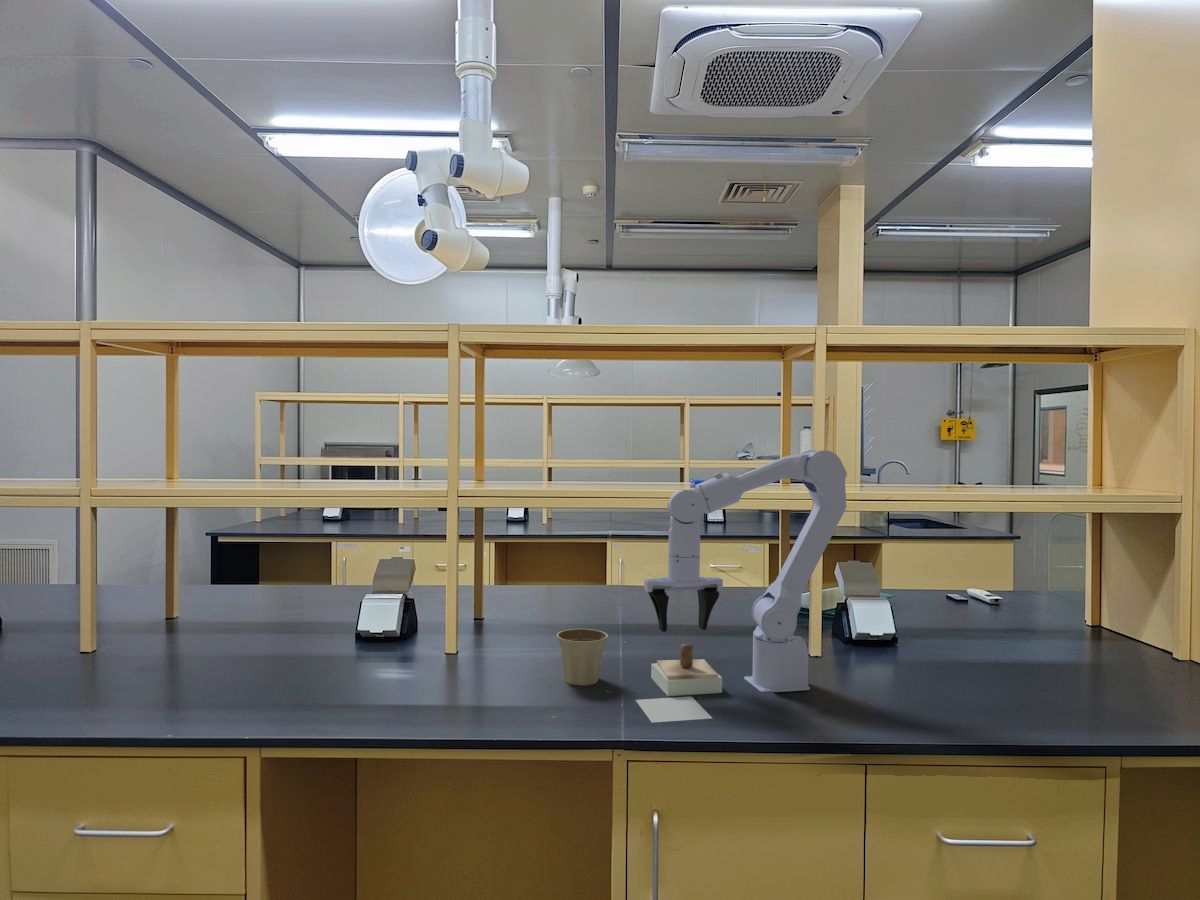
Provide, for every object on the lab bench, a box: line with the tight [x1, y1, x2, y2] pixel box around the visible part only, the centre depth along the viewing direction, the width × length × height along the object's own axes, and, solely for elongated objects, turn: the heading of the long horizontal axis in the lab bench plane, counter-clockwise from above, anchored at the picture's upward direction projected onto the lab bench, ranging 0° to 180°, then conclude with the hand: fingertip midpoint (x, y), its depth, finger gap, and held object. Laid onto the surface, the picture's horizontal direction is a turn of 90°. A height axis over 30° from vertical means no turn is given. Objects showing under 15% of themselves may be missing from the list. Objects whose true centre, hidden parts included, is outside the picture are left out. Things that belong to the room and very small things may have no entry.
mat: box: [635, 695, 713, 724], centre depth 116 cm, size 10×10×1 cm
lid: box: [656, 642, 718, 679], centre depth 128 cm, size 9×9×5 cm
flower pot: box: [556, 628, 609, 686], centre depth 130 cm, size 9×9×9 cm
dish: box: [650, 662, 723, 697], centre depth 128 cm, size 10×10×3 cm
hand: (682, 629), depth 130 cm, fingers open, 7 cm apart
